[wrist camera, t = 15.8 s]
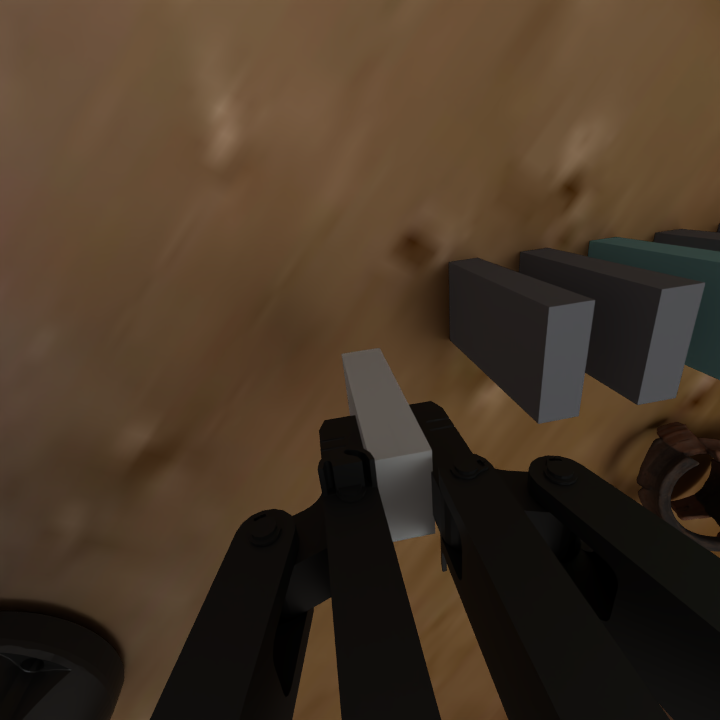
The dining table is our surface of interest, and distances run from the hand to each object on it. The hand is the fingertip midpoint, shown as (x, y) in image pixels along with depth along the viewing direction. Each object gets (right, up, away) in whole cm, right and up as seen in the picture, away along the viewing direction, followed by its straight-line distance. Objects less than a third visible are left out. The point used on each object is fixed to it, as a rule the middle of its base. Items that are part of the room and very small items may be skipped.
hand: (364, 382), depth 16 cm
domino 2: (+11, +5, +9) cm, 15 cm away
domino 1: (+6, +5, +9) cm, 12 cm away
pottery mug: (+28, -7, +19) cm, 35 cm away
